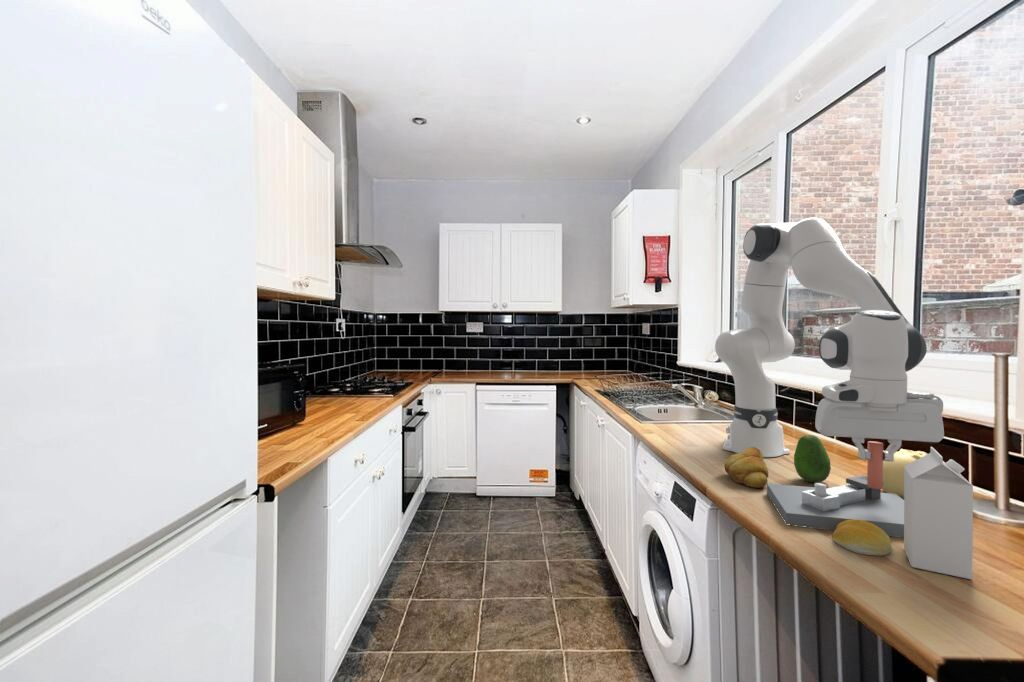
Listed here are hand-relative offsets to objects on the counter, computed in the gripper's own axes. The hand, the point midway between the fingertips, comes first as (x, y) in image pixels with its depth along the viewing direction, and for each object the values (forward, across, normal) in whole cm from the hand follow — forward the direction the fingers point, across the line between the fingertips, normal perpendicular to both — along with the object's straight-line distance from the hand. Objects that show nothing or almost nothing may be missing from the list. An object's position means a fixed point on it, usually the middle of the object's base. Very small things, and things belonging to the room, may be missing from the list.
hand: (875, 459), depth 88 cm
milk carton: (+13, -3, +16) cm, 20 cm away
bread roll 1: (+14, +20, -19) cm, 31 cm away
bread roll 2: (+13, +6, +11) cm, 18 cm away
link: (+10, +6, -2) cm, 12 cm away
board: (+13, +4, -2) cm, 14 cm away
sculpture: (+13, -14, -17) cm, 26 cm away
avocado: (+14, +5, -22) cm, 27 cm away
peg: (+6, 0, 0) cm, 6 cm away
